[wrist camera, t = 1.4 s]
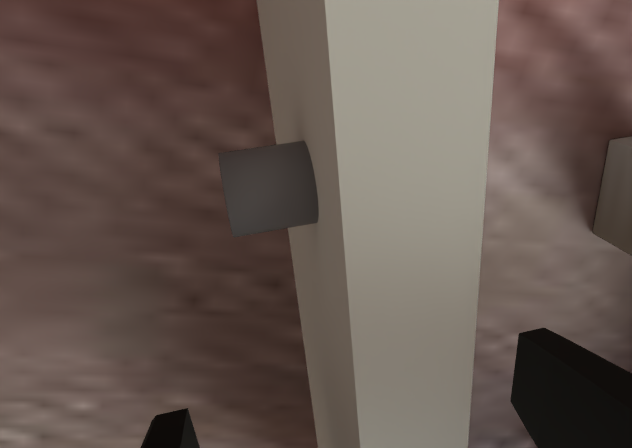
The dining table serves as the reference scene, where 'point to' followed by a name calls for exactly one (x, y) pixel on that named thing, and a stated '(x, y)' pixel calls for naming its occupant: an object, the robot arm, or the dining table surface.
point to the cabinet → (616, 196)
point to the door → (377, 205)
